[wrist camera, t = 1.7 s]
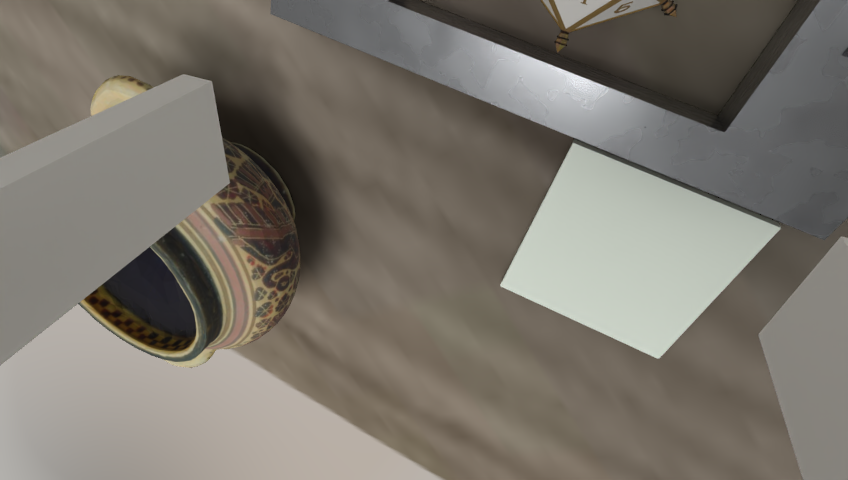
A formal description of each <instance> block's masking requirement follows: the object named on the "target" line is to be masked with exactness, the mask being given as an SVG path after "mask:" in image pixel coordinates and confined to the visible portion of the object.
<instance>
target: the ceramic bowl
mask: <svg viewBox="0 0 848 480" xmlns="http://www.w3.org/2000/svg"><path fill="white" fill-rule="evenodd" d="M152 88H154V87H152V86H150V85H148V84H146V83H144V82H142V81H140V80H138V79H135V78H133V77H131V76H120V75H118V76H113V77H111V78H109V79H107V80H105V82H104V83H103V84H102V85H101V86H100V87H99V88H98V89H97V91H96V92H95V94H94V96H93V99H92V103H91V116H93V115H95V114H97V113H99V112H102V111H104V110H106V109H108V108H110V107H113V106H115V105H117V104H119V103H121V102H123V101H126V100H128V99H130V98H132V97H134V96H137V95H139V94H141V93H143V92H145V91H147V90H150V89H152ZM222 141H223V146H224V152H225V158H226V163H227V169H228V175H229V180H230V183H229V184H228V185H227V186H225V187H224V188H223V189H222V190H220V191H219V192H218V193H217V194H215V195H214V196H213V197H212V198H210V199H209V200H208V201H207V202H205V203H204V204H203V205H202V206H200V207H199V208H198V209H196V210H195V211H194V212H193V213H191V214H190V215H189V216H188V217H186V218H185V219H184V220H183V221H181V222H180V223H179V224H178V225H176V226H175V227H174V228H173V229H171V230H170V231H169V232H168V233H166V234H165V235H164V236H163V237H161V238H160V239H159V240H157V241H156V242H155V243H154V244H152V245H151V246H150V247H149V248H147V249H146V250H145V251H144V252H142V253H141V254H140V255H139V256H137V257H136V258H135V259H134V260H132V261H131V262H130V263H129V264H127V265H126V266H125V267H123V268H122V269H121V270H120V271H118V272H117V273H116V274H115V275H113V276H112V277H111V278H110V279H108V280H107V281H106V282H105V283H103V284H102V285H101V286H100V287H98V288H97V289H96V290H95V291H93V292H92V293H91V294H89V295H88V296H87V297H86V298H84V299H83V300H82V301H81V302H79V303H78V304H79V305H80V306H81V307H82V308H84V309H85V310H86V311H87V312H88V313H89V314H90V315H91V316H92V317H93V318H94V319H95V320H96V321H98V322H99V323H100V324H101V325H103V326H104V327H105V328H106V329H108V330H109V331H111V332H112V333H113V334H115V335H116V336H118V337H119V338H120V339H122V340H124V341H125V342H127V343H129V344H130V345H132V346H134V347H135V348H137V349H139V350H141V351H143V352H146V353H148V354H150V355H152V356H155V357H158V358H161V359H163V360H165V361H166V362H168V363H170V364H172V365H175V366H179V367H189V368H192V367H196V366H199V365H201V364H203V363H205V362H207V361H208V360H209V359H210V357H211V356H212V355H213V354H214V352H215V351H216V350H217V349H230V348H235V347H239V346H243V345H246V344H248V343H251V342H253V341H255V340H257V339H259V338H260V337H261V336H263V335H264V334H266V333H267V332H269V331H270V330H271V329H272V328H273V327H274V326H275V325H276V324H277V323H278V322H279V320H280V319H281V318H282V317H283V316H284V314H285V312H286V311H287V309H288V308H289V306H290V304H291V302H292V299H293V297H294V294H295V292H296V288H297V284H298V280H299V273H300V247H299V241H298V235H297V231H296V226H295V224H294V218H295V209H294V205H293V202H292V199H291V196H290V193H289V190H288V188H287V187H286V185H285V184H284V182H283V180H282V179H281V177H280V175H279V174H278V172H277V171H276V170H275V169H274V168H273V167H272V166H271V165H270V164H269V163H268V162H267V161H266V160H265V159H264V158H263V157H261V156H260V155H259V154H257V153H256V152H254V151H253V150H251V149H249V148H248V147H245V146H243V145H241V144H238V143H233V142H229V141H227V140H225V139H224V138H222Z"/></svg>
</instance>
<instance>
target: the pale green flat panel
mask: <svg viewBox="0 0 848 480" xmlns="http://www.w3.org/2000/svg"><path fill="white" fill-rule="evenodd" d="M780 229H781V227H780V224H779V223H778V222H776V221H774V220H771V219H769V218H766V217H764V216H761V215H759V214H756V213H754V212H752V211H749V210H747V209H744V208H742V207H739V206H737V205H734V204H732V203H730V202H727V201H725V200H722V199H720V198H717V197H715V196H712V195H710V194H708V193H705V192H703V191H700V190H698V189H695V188H693V187H690V186H688V185H686V184H683V183H681V182H678V181H676V180H673V179H671V178H668V177H666V176H663V175H661V174H659V173H656V172H654V171H651V170H649V169H646V168H644V167H641V166H639V165H637V164H634V163H632V162H629V161H627V160H624V159H622V158H619V157H617V156H615V155H612V154H610V153H607V152H605V151H602V150H600V149H597V148H595V147H593V146H590V145H588V144H585V143H583V142H580V141H578V140H575V139H574V141H573V143H572V145H571V147H570V148H569V150H568V152H567V154H566V156H565V158H564V160H563V162H562V164H561V166H560V168H559V170H558V172H557V174H556V176H555V178H554V180H553V182H552V184H551V186H550V188H549V190H548V192H547V194H546V196H545V197H544V199H543V201H542V203H541V205H540V207H539V209H538V211H537V213H536V215H535V217H534V219H533V221H532V223H531V225H530V227H529V229H528V231H527V233H526V235H525V237H524V239H523V241H522V243H521V245H520V247H519V248H518V250H517V252H516V254H515V256H514V258H513V260H512V262H511V264H510V266H509V268H508V270H507V272H506V274H505V276H504V278H503V280H502V282H501V285H500V286H501V287H503V288H505V289H508V290H510V291H512V292H514V293H516V294H519V295H521V296H523V297H525V298H527V299H529V300H532V301H534V302H536V303H538V304H540V305H542V306H545V307H547V308H549V309H551V310H553V311H555V312H558V313H560V314H562V315H564V316H566V317H568V318H571V319H573V320H575V321H577V322H579V323H581V324H584V325H586V326H588V327H590V328H592V329H594V330H597V331H599V332H601V333H603V334H605V335H608V336H610V337H612V338H614V339H616V340H618V341H621V342H623V343H625V344H627V345H629V346H631V347H634V348H636V349H638V350H640V351H642V352H644V353H647V354H649V355H651V356H653V357H655V358H657V359H659V358H660V357H661V356H662V355H663V354H664V353H665V352H666V351H667V350H668V348H669V347H670V346H671V345H672V344H673V343H674V342H675V341H676V340H677V339H678V338H679V337H680V336H681V335H682V333H683V332H684V331H685V330H686V329H687V328H688V327H689V326H690V325H691V324H692V323H693V322H694V321H695V320H696V319H697V317H698V316H699V315H700V314H701V313H702V312H703V311H704V310H705V309H706V308H707V307H708V306H709V305H710V304H711V302H712V301H713V300H714V299H715V298H716V297H717V296H718V295H719V294H720V293H721V292H722V291H723V290H724V289H725V288H726V286H727V285H728V284H729V283H730V282H731V281H732V280H733V279H734V278H735V277H736V276H737V275H738V274H739V273H740V271H741V270H742V269H743V268H744V267H745V266H746V265H747V264H748V263H749V262H750V261H751V260H752V259H753V258H754V257H755V255H756V254H757V253H758V252H759V251H760V250H761V249H762V248H763V247H764V246H765V245H766V244H767V243H768V242H769V240H770V239H771V238H772V237H773V236H774V235H775V234H776V233H777V232H778V231H779V230H780Z"/></svg>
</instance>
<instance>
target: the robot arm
mask: <svg viewBox="0 0 848 480" xmlns="http://www.w3.org/2000/svg"><path fill="white" fill-rule="evenodd" d="M229 183H230V180H229V175H228V169H227V163H226V158H225V152H224V146H223V141H222V135H221V129H220V124H219V118H218V112H217V107H216V101H215V95H214V90H213V84H212V81H209V80H205V79H201V78H197V77H193V76H189V75H185V74H182V75H180V76H178V77H176V78H174V79H172V80H169V81H167V82H165V83H163V84H161V85H158V86H156V87H154V88H152V89H150V90H147V91H145V92H143V93H141V94H139V95H137V96H134V97H132V98H130V99H128V100H126V101H123V102H121V103H119V104H117V105H115V106H113V107H110V108H108V109H106V110H104V111H102V112H99V113H97V114H95V115H93V116H91V117H88V118H86V119H84V120H82V121H80V122H78V123H75V124H73V125H71V126H69V127H67V128H64V129H62V130H60V131H58V132H56V133H54V134H51V135H49V136H47V137H45V138H43V139H40V140H38V141H36V142H34V143H32V144H29V145H27V146H25V147H23V148H21V149H19V150H16V151H14V152H12V153H10V154H8V155H5V156H3V157H1V158H0V365H1V364H3V363H4V362H5V361H6V360H8V359H9V358H10V357H11V356H13V355H14V354H15V353H16V352H18V351H19V350H20V349H21V348H23V347H24V346H25V345H26V344H28V343H29V342H30V341H32V340H33V339H34V338H35V337H36V336H38V335H39V334H40V333H42V332H43V331H44V330H45V329H46V328H48V327H49V326H50V325H52V324H53V323H54V322H55V321H57V320H58V319H59V318H60V317H62V316H63V315H64V314H66V313H67V312H68V311H69V310H71V309H72V308H73V307H74V306H76V305H77V304H78V303H79V302H81V301H82V300H83V299H84V298H86V297H87V296H88V295H89V294H91V293H92V292H93V291H95V290H96V289H97V288H98V287H100V286H101V285H102V284H103V283H105V282H106V281H107V280H108V279H110V278H111V277H112V276H113V275H115V274H116V273H117V272H118V271H120V270H121V269H122V268H123V267H125V266H126V265H127V264H129V263H130V262H131V261H132V260H134V259H135V258H136V257H137V256H139V255H140V254H141V253H142V252H144V251H145V250H146V249H147V248H149V247H150V246H151V245H152V244H154V243H155V242H156V241H157V240H159V239H160V238H161V237H163V236H164V235H165V234H166V233H168V232H169V231H170V230H171V229H173V228H174V227H175V226H176V225H178V224H179V223H180V222H181V221H183V220H184V219H185V218H186V217H188V216H189V215H190V214H191V213H193V212H194V211H195V210H196V209H198V208H199V207H200V206H202V205H203V204H204V203H205V202H207V201H208V200H209V199H210V198H212V197H213V196H214V195H215V194H217V193H218V192H219V191H220V190H222V189H223V188H224V187H225V186H227V185H228V184H229ZM758 335H759V339H760V342H761V345H762V348H763V352H764V355H765V358H766V361H767V365H768V368H769V371H770V374H771V378H772V381H773V384H774V387H775V391H776V394H777V397H778V400H779V403H780V407H781V410H782V413H783V416H784V420H785V423H786V426H787V429H788V433H789V436H790V439H791V442H792V446H793V449H794V452H795V455H796V459H797V462H798V465H799V468H800V472H801V475H802V478H803V480H848V238H846V237H842V236H841V237H840V238H839V239H838V241H837V242H836V243H835V244H834V245H833V247H832V248H831V249H830V250H829V251H828V252H827V254H826V255H825V256H824V257H823V258H822V260H821V261H820V262H819V263H818V264H817V266H816V267H815V268H814V269H813V270H812V271H811V273H810V274H809V275H808V276H807V277H806V279H805V280H804V281H803V282H802V283H801V284H800V286H799V287H798V288H797V289H796V290H795V292H794V293H793V294H792V295H791V296H790V298H789V299H788V300H787V301H786V302H785V303H784V305H783V306H782V307H781V308H780V309H779V311H778V312H777V313H776V314H775V315H774V316H773V318H772V319H771V320H770V321H769V322H768V324H767V325H766V326H765V327H764V328H763V329H762V331H761V332H760V333H759V334H758Z"/></svg>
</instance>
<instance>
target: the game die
mask: <svg viewBox="0 0 848 480" xmlns="http://www.w3.org/2000/svg"><path fill="white" fill-rule="evenodd" d="M541 2H542V3H543V5H544V6H545V7H546V9H547V10H548V12H549V13H550V15H551V16H552V17H553V19H554V20H555V22H556V23H557V25H558V26H559V27H560V29H561V33H560V34H559V36H557V37H558V38H557V40H556V41H555V43H556V49H557V53H558V52H559V51H560V50H561V49H562V48H563V47H565V46H567V45H566V43H567V40H569V39H568V34H569V32H572V31H576V30H579V29H582V28H585V27H589V26H592V25H595V24H599V23H602V22H605V21H608V20H612V19H615V18H618V17H622V16H625V15H628V14H632V13H635V12H638V11H641V10H645V9H648V8H651V7H655V6H658V5H661V6H662V11H664V12H665V14H664V15H671V16H674V17H676V8H677V4H676V5H675V4H674V3H673V2H674V1H670V0H541Z"/></svg>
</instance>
